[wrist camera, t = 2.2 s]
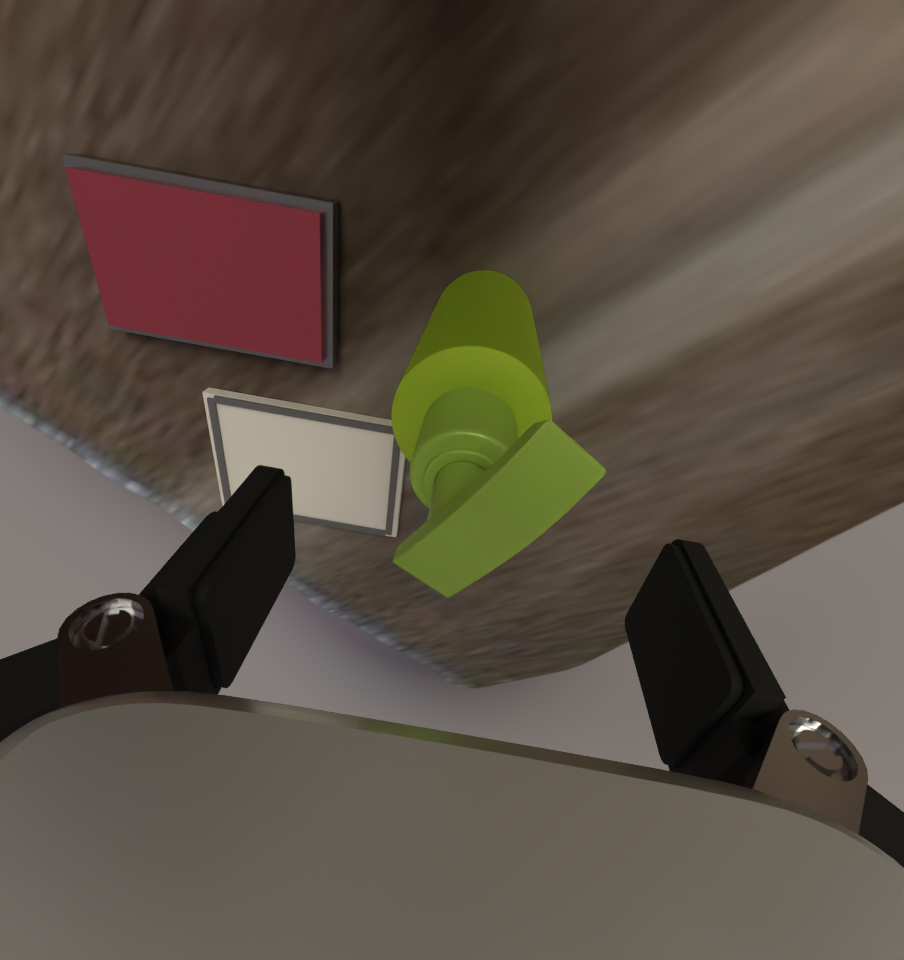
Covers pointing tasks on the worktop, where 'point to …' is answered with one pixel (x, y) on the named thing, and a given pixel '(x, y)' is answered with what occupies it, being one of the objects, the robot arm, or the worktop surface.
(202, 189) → the ink pad
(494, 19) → the worktop surface
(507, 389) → the soap dispenser
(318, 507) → the marked card
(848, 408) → the worktop surface
